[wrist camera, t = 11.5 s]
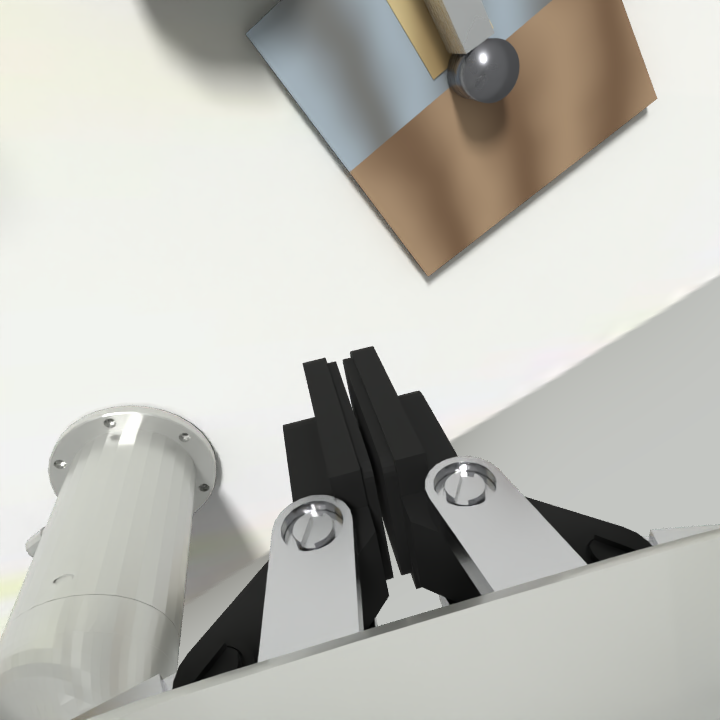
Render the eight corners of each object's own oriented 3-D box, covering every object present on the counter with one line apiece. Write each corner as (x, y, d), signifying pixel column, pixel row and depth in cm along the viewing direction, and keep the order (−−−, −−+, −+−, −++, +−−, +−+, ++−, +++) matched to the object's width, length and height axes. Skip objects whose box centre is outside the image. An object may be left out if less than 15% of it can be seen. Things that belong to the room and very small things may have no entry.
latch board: (423, 270, 40) (428, 277, 39) (245, 34, 31) (245, 33, 29) (645, 97, 37) (658, 98, 36) (523, -230, 27) (535, -242, 26)
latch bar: (505, 77, 33) (528, 80, 30) (461, 109, 33) (479, 115, 31) (424, -117, 28) (443, -133, 25) (373, -76, 28) (386, -88, 25)
